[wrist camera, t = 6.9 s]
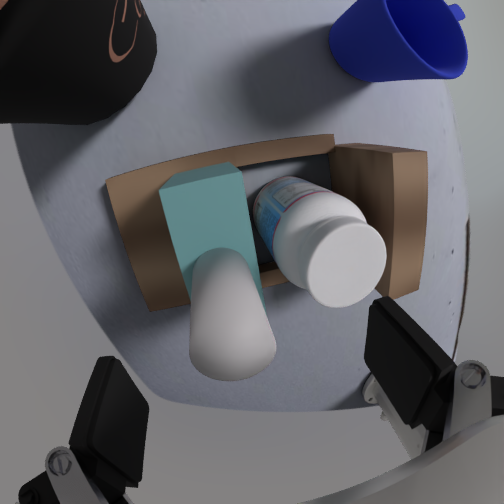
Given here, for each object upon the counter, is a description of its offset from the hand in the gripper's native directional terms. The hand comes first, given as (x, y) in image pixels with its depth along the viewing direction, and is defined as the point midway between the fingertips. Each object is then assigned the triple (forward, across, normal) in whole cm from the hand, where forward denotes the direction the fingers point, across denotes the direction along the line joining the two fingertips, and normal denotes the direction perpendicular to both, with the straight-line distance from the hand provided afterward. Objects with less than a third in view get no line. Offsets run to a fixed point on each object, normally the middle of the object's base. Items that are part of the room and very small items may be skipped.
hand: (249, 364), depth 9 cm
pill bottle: (+15, -6, -1) cm, 16 cm away
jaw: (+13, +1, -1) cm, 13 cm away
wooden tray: (+15, -2, -1) cm, 15 cm away
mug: (+15, -16, -16) cm, 27 cm away
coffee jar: (+15, +8, -17) cm, 24 cm away
